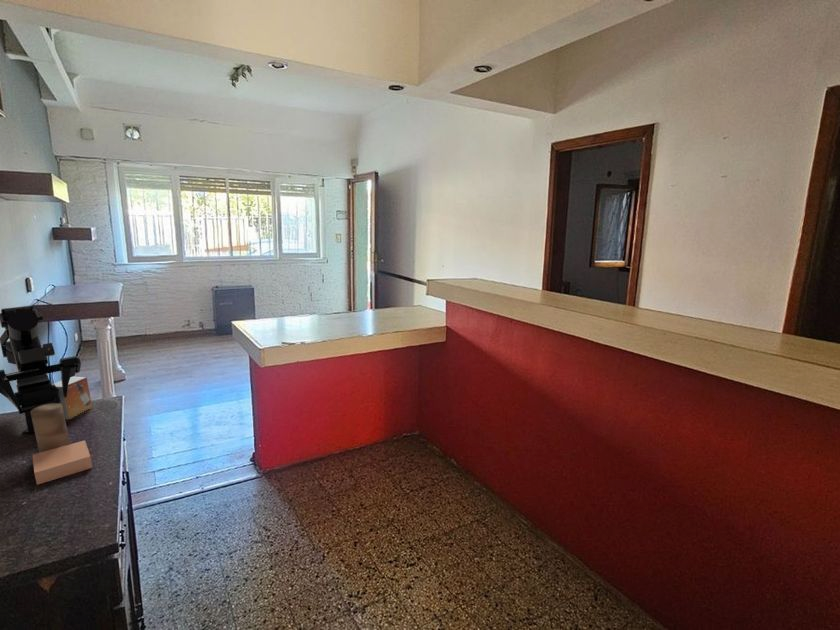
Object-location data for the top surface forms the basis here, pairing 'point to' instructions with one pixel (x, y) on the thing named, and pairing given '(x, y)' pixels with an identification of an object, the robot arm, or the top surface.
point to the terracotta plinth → (61, 462)
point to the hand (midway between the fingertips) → (43, 402)
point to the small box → (75, 397)
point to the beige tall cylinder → (49, 426)
